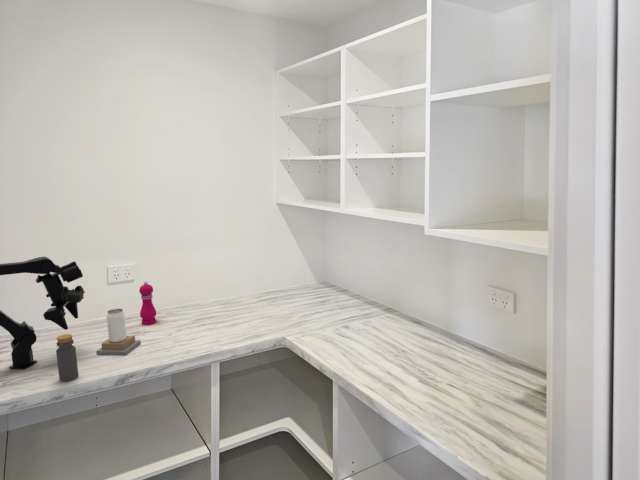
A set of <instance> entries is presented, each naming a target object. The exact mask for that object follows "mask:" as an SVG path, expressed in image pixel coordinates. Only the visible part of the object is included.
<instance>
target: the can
mask: <svg viewBox="0 0 640 480" xmlns="http://www.w3.org/2000/svg"><path fill="white" fill-rule="evenodd" d="M125 317H126V316H125V312H124V310H123V308H114V309H109V310H108V311H107V314H106V323H107V324H106V325H107V334H108V339H109V341H110V342H113V343H115V342H121V341H124V340H125V339H126V336H127V328H126V319H125Z"/></svg>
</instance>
